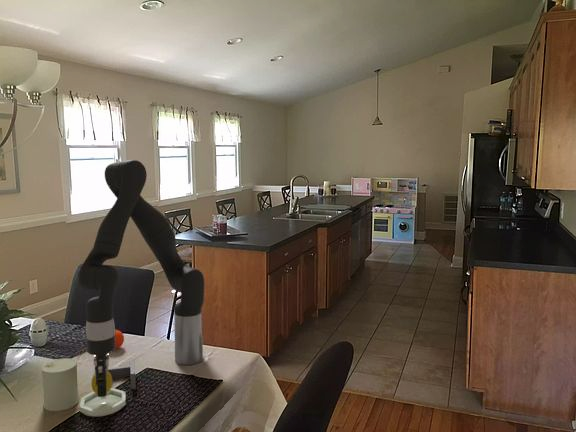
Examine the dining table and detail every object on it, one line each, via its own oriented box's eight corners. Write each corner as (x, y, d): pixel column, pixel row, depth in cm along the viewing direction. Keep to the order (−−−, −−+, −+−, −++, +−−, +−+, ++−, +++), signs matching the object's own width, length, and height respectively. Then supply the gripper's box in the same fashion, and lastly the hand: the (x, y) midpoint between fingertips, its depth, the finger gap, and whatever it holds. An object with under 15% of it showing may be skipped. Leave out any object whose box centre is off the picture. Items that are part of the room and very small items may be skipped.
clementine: (100, 347, 174) (99, 328, 173) (118, 342, 179) (118, 324, 178) (108, 354, 168) (108, 335, 168) (127, 349, 173) (127, 330, 172)
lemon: (105, 401, 131) (104, 374, 130) (87, 399, 132) (86, 372, 131) (116, 392, 136) (115, 365, 135) (99, 389, 138) (98, 363, 136)
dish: (125, 391, 142) (125, 386, 142) (125, 412, 131) (125, 406, 131) (82, 397, 138) (82, 392, 138) (78, 419, 127) (78, 413, 127)
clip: (135, 373, 154) (134, 359, 153) (135, 388, 144) (135, 373, 144) (102, 377, 151) (101, 363, 150) (100, 393, 141) (100, 378, 140)
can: (51, 395, 140) (49, 356, 138) (83, 394, 140) (81, 356, 139) (37, 412, 131) (35, 371, 129) (72, 411, 131) (70, 370, 130)
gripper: (114, 342, 126) (116, 401, 129) (115, 324, 140) (117, 377, 142) (83, 345, 124) (86, 405, 126) (88, 326, 137) (90, 381, 140)
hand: (102, 390), depth 134 cm, fingers closed on lemon, 5 cm apart
